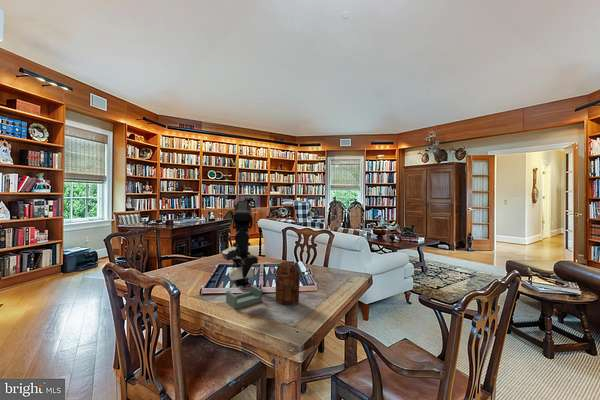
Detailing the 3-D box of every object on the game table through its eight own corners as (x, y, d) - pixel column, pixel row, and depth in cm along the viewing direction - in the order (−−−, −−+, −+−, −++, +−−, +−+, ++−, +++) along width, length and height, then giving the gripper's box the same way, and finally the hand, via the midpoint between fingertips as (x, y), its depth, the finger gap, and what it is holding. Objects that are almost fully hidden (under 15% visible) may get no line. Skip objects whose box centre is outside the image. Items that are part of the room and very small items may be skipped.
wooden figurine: (271, 302, 126) (272, 262, 124) (276, 297, 132) (277, 258, 130) (296, 307, 122) (298, 265, 121) (301, 301, 128) (302, 261, 127)
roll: (247, 275, 130) (248, 264, 130) (253, 278, 126) (253, 266, 126) (228, 278, 125) (229, 267, 124) (233, 282, 121) (234, 270, 120)
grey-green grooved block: (252, 295, 133) (252, 284, 133) (261, 301, 127) (261, 290, 127) (226, 302, 125) (226, 291, 124) (234, 309, 119) (234, 297, 118)
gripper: (215, 238, 127) (215, 273, 128) (234, 246, 112) (233, 285, 113) (238, 236, 134) (238, 269, 135) (259, 243, 119) (258, 280, 120)
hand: (241, 276), depth 125 cm, fingers closed on roll, 5 cm apart
